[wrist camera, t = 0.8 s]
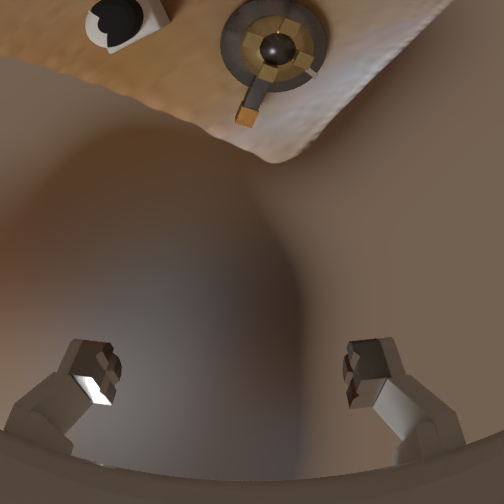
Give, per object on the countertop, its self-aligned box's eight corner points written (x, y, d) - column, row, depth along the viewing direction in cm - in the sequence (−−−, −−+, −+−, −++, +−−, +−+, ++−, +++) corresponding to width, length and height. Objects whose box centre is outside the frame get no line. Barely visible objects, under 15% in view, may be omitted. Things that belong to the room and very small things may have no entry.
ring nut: (255, 4, 30) (257, 5, 28) (320, 31, 33) (328, 34, 31) (212, 108, 41) (211, 118, 39) (272, 127, 44) (275, 138, 41)
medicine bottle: (151, -18, 29) (125, -20, 20) (171, 22, 34) (151, 33, 25) (105, 6, 30) (68, 15, 22) (126, 45, 35) (94, 64, 27)
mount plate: (242, -17, 30) (243, -18, 28) (338, 22, 34) (344, 24, 32) (206, 70, 39) (205, 74, 37) (297, 100, 44) (301, 107, 42)
